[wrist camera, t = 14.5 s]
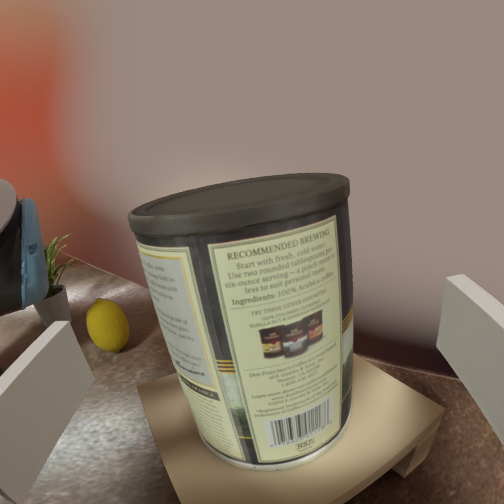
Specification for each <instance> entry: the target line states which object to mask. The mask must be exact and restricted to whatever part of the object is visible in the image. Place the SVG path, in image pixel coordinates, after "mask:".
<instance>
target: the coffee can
mask: <svg viewBox="0 0 504 504" xmlns="http://www.w3.org/2000/svg"><path fill="white" fill-rule="evenodd" d="M349 195H350V185H349V179H348V178H347V177H344V176H343V175H338V174H331V173H298V174H284V175H273V176H264V177H257V178H250V179H242V180H237V181H230V182H225V183H220V184H215V185H210V186H205V187H201V188H197V189H192V190H187V191H183V192H180V193H176V194H172V195H169V196H166V197H162V198H159V199H156V200H153V201H151V202H148V203H145V204H143V205H141V206H139V207H137V208H135V209H134V210H132V211H131V212H130V213H129V214H128V216H127V217H128V221H129V225H130V228H131V230H132V231H133V232H134V233H135V237H136V242H137V246H138V250H139V253H140V257H141V261H142V264H143V268H144V272H145V276H146V279H147V283H148V287H149V290H150V294H151V297H152V300H153V304H154V307H155V310H156V314H157V317H158V320H159V323H160V326H161V329H162V332H163V335H164V338H165V341H166V344H167V347H168V350H169V353H170V356H171V359H172V362H173V364H174V367H175V370H176V373H177V376H178V378H179V381H180V384H181V386H182V389H183V392H184V394H185V397H186V399H187V402H188V405H189V407H190V410H191V412H192V414H193V417H194V419H195V422H196V425H197V428H198V432H199V434H200V437H201V439H202V441H203V442H204V444H205V445H206V446H207V448H208V449H209V450H210V451H211V452H213V453H214V454H215V455H216V456H217V457H218V458H220V459H222V460H224V461H226V462H228V463H230V464H232V465H235V466H237V467H240V468H244V469H250V470H255V471H280V470H283V469H288V468H292V467H296V466H300V465H302V464H305V463H308V462H310V461H312V460H314V459H316V458H318V457H319V456H321V455H323V454H324V453H325V452H327V451H328V450H329V449H330V448H332V447H333V446H334V445H335V444H336V443H337V442H338V441H339V440H340V438H341V437H342V436H343V434H344V432H345V430H346V429H347V427H348V425H349V422H350V418H351V414H352V402H351V394H352V374H353V373H352V371H353V281H352V277H353V276H352V258H351V239H350V225H349V212H348V196H349Z"/></svg>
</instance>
